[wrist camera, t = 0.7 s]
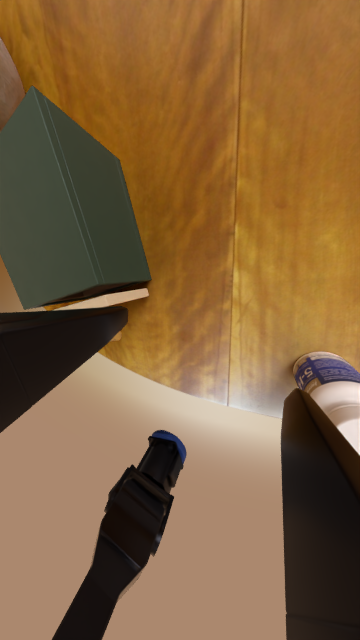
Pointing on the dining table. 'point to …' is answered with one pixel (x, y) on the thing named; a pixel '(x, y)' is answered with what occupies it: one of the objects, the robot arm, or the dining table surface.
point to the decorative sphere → (8, 86)
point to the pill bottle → (333, 390)
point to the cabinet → (63, 209)
